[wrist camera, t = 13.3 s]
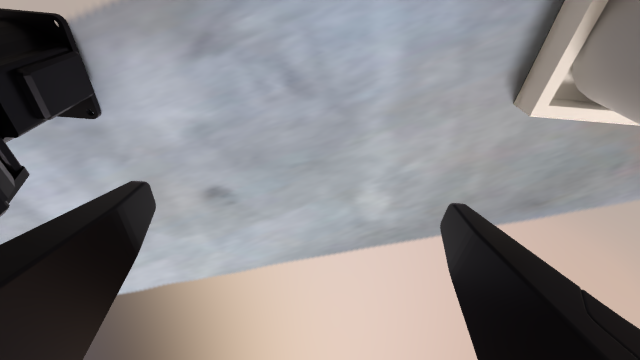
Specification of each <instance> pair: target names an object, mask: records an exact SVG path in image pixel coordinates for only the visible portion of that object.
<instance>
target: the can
mask: <svg viewBox="0 0 640 360" xmlns="http://www.w3.org/2000/svg"><path fill="white" fill-rule="evenodd" d="M572 76H573V79H574V81H575V84H576V87H577V89H578V90H579V91H580V92H581V93H583V94H584V95H585V96H586V97H587V98H589V99H591V100H592V101H594V102H596V103H598V104H600V105H602V106H604V107H606V108H608V109H610V110H612V111H614V112H616V113H618V114H620V115H622V116H624V117H626V118H628V119H630V120H632V121H634V122H636V123H638V124H640V0H609V1H608V2H607V4H606V5H605V7H604V9H603V11H602V12H601V14H600V16H599V18H598V19H597V21H596V23H595V25H594V27H593V28H592V30H591V32H590V34H589V35H588V37H587V39H586V41H585V42H584V44H583V46H582V48H581V49H580V51H579V53H578V55H577V56H576V58H575V60H574V62H573V70H572Z"/></svg>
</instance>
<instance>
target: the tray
mask: <svg viewBox="0 0 640 360" xmlns="http://www.w3.org/2000/svg"><path fill="white" fill-rule="evenodd" d="M608 1H609V0H565V1H564V3H563V5H562V7H561V9H560V11H559V13H558V15H557V17H556V19H555V21H554V23H553V25H552V27H551V29H550V31H549V34H548V36H547V38H546V40H545V42H544V44H543V46H542V48H541V50H540V52H539V54H538V56H537V58H536V60H535V62H534V64H533V66H532V68H531V70H530V72H529V74H528V76H527V78H526V80H525V82H524V84H523V86H522V88H521V90H520V92H519V94H518V96H517V98H516V100H515V102H514V105H515V106H516V107H518V108H519V109H520V110H522V111H523V112H524V113H526V114H527V115H529V116H531V117H543V118H556V119H568V120H580V121H592V122H604V123H616V124H628V125H640V124H638V123H636V122H634V121H632V120H630V119H628V118H626V117H624V116H622V115H620V114H618V113H616V112H614V111H612V110H610V109H608V108H606V107H604V106H602V105H600V104H598V103H596V102H594V101H592V100H591V99H589V98H587V97H586V96H585V95H584V94H583V93H581V92H580V91H579V90H578V89H577V87H576V84H575V81H574V79H573V76H572V70H573V62H574V60H575V58H576V56H577V55H578V53H579V51H580V49H581V48H582V46H583V44H584V42H585V41H586V39H587V37H588V35H589V34H590V32H591V30H592V28H593V27H594V25H595V23H596V21H597V19H598V18H599V16H600V14H601V12H602V11H603V9H604V7H605V5H606V4H607V2H608Z"/></svg>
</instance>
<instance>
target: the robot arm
mask: <svg viewBox="0 0 640 360" xmlns="http://www.w3.org/2000/svg"><path fill="white" fill-rule="evenodd" d="M54 20H55V21H56V22H57V23H58V24H59V27H58V26H57V25H56V24H55V22H54ZM90 109H91V110H92V111H93V112H94V113H92V112H91V111H90ZM100 115H101V110H100V107H99V104H98V102H97V99H96V97H95V94H94V91H93V88H92V85H91V83H90V80H89V78H88V75H87V72H86V70H85V67H84V64H83V62H82V59H81V57H80V55H79V52H78V49H77V47H76V44H75V42H74V39H73V36H72V34H71V31H70V28H69V26H68V23H67V22H66V20H65V19H64V18H63V17H62V16H60V15H59V14H54V13H43V12H33V11H22V10H11V9H0V216H2V215H3V214H4V213H5V212H6V211H7V209H8V208H9V203H10V201H11V200H12V198H13V197H14V196H15V194H16V193H17V192H18V190H19V189H20V187H21V186H22V185H23V183H24V182H25V181H26V179H27V178H28V176H29V175H30V174H29V173H28V171H27V170H26V168H25V167H24V166H21V165H20V163H19V162H18V161H17V159H16V158H15V156H14V155H13V153H12V152H11V150H10V149H9V148H8V146H7V145H6V142H8V141H10V140H12V139H13V138H17V137H19V136H21V135H23V134H25V133H26V132H28V131H30V130H31V129H33V128H35V127H37V126H38V125H40V124H42V123H44V122H45V121H47V120H51V119H53V118H54V117H56V116H59V117H72V118H85V119H96V118H97V117H99V116H100ZM155 209H156V203H155V200H154V197H153V194H152V191H151V188H150V185H149V184H148V183H147V182H143V181H131V182H129V183H126V184H124V185H122V186H120V187H118V188H116V189H114V190H112V191H110V192H108V193H106V194H104V195H102V196H100V197H98V198H96V199H94V200H92V201H89V202H87V203H85V204H83V205H81V206H79V207H77V208H75V209H73V210H71V211H69V212H67V213H65V214H63V215H61V216H59V217H57V218H55V219H52V220H50V221H48V222H46V223H44V224H42V225H40V226H38V227H36V228H34V229H32V230H30V231H28V232H26V233H24V234H22V235H20V236H17V237H15V238H13V239H11V240H9V241H7V242H5V243H3V244H1V245H0V360H83V358H84V356H85V355H86V353H87V351H88V349H89V347H90V345H91V343H92V341H93V339H94V337H95V336H96V333H97V332H98V330H99V328H100V326H101V324H102V322H103V320H104V318H105V317H106V315H107V313H108V311H109V309H110V307H111V305H112V303H113V301H114V299H115V298H116V296H117V294H118V292H119V290H120V288H121V286H122V284H123V282H124V281H125V279H126V277H127V275H128V273H129V271H130V269H131V267H132V265H133V263H134V261H135V259H136V257H137V255H138V253H139V251H140V248H141V246H142V243H143V241H144V238H145V236H146V233H147V230H148V228H149V225H150V223H151V220H152V218H153V215H154V212H155ZM440 229H441V234H442V239H443V244H444V249H445V254H446V259H447V263H448V268H449V272H450V276H451V279H452V283H453V285H454V289H455V292H456V294H457V298H458V301H459V304H460V306H461V310H462V313H463V316H464V319H465V322H466V325H467V328H468V331H469V334H470V337H471V340H472V343H473V346H474V349H475V353H476V356H477V359H478V360H640V329H639V328H637V327H636V326H634V325H633V324H631V323H630V322H628V321H627V320H625V319H624V318H622V317H621V316H619V315H618V314H617V313H615V312H614V311H612V310H611V309H609V308H608V307H607V306H605V305H604V304H602V303H601V302H600V301H598V300H597V299H595V298H594V297H592V296H591V295H590V294H589V293H587V292H586V291H585V290H581V289H580V287H579V286H577V285H576V284H575V283H573V282H572V281H571V280H569V279H568V278H566V277H565V276H564V275H562V274H561V273H560V272H558V271H557V270H555V269H554V268H553V267H551V266H550V265H548V264H547V263H546V262H544V261H543V260H541V259H540V258H539V257H537V256H536V255H535V254H533V253H532V252H531V251H529V250H527V249H526V248H525V247H524V246H522V245H521V244H519V243H518V242H517V241H515V240H514V239H512V238H511V237H510V236H508V235H507V234H506V233H504V232H503V231H502V230H500V229H499V228H497V227H496V226H495V225H493V224H492V223H490V222H489V221H488V220H486V219H485V218H484V217H482V216H481V215H479V214H478V213H477V212H475V211H474V210H472V209H471V208H470V207H468V206H467V205H465V204H460V203H451V204H450V205H449V206H448V208H447V210H446V212H445V215H444V217H443V219H442V221H441V225H440Z"/></svg>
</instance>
